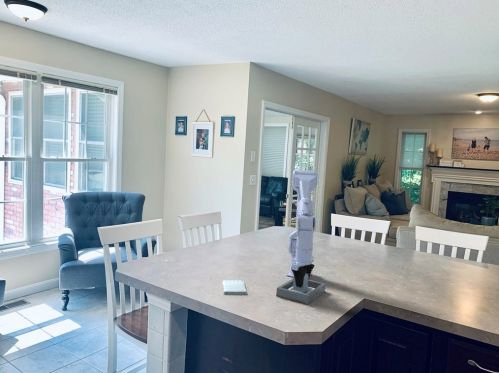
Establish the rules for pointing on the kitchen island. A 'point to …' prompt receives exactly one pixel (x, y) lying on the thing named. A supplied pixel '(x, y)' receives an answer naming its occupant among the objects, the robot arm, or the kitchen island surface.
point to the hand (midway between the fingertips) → (301, 285)
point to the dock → (306, 297)
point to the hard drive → (234, 287)
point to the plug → (304, 287)
